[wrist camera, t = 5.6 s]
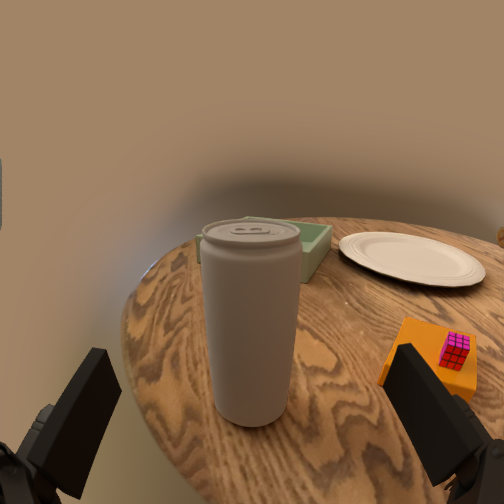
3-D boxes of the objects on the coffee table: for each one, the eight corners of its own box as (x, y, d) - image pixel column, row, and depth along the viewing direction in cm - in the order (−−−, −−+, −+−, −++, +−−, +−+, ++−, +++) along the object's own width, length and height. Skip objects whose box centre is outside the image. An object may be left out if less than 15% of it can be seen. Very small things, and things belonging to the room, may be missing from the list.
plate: (381, 233, 63) (382, 226, 62) (489, 265, 40) (491, 257, 40) (303, 255, 46) (304, 245, 45) (470, 319, 24) (474, 305, 23)
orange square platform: (376, 384, 17) (391, 340, 16) (399, 335, 23) (410, 297, 22) (463, 410, 13) (489, 368, 11) (467, 354, 18) (483, 316, 17)
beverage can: (291, 428, 14) (317, 242, 11) (214, 432, 14) (192, 243, 10) (280, 379, 19) (291, 217, 15) (215, 382, 19) (203, 218, 15)
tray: (196, 262, 43) (195, 235, 41) (247, 236, 58) (247, 216, 56) (306, 283, 35) (309, 252, 34) (330, 248, 51) (332, 225, 49)
